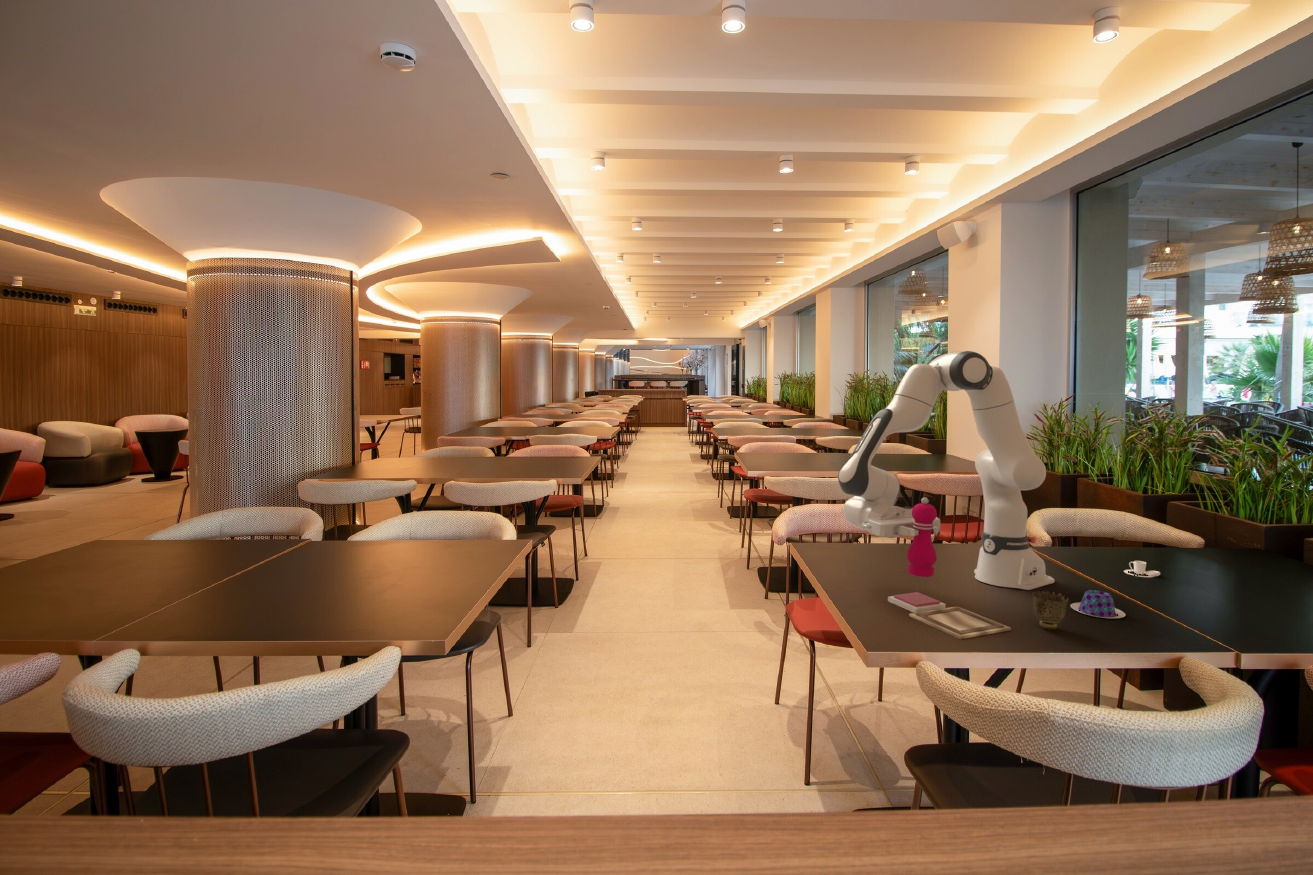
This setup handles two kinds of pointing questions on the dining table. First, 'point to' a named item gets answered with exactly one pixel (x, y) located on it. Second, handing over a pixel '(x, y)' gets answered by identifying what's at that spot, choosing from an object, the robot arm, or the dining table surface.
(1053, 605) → the cup
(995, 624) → the board
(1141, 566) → the teacup and saucer
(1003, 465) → the robot arm
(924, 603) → the ink pad
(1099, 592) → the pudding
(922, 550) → the pepper mill
